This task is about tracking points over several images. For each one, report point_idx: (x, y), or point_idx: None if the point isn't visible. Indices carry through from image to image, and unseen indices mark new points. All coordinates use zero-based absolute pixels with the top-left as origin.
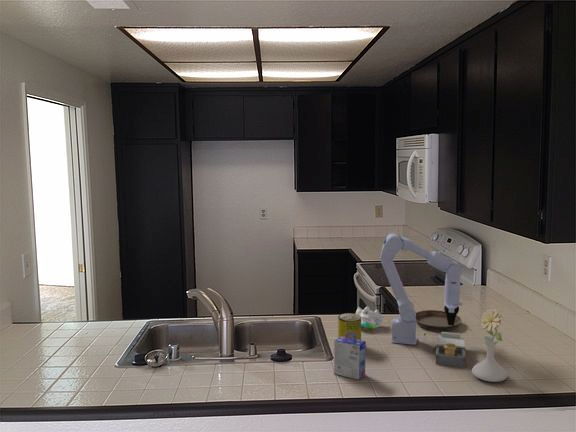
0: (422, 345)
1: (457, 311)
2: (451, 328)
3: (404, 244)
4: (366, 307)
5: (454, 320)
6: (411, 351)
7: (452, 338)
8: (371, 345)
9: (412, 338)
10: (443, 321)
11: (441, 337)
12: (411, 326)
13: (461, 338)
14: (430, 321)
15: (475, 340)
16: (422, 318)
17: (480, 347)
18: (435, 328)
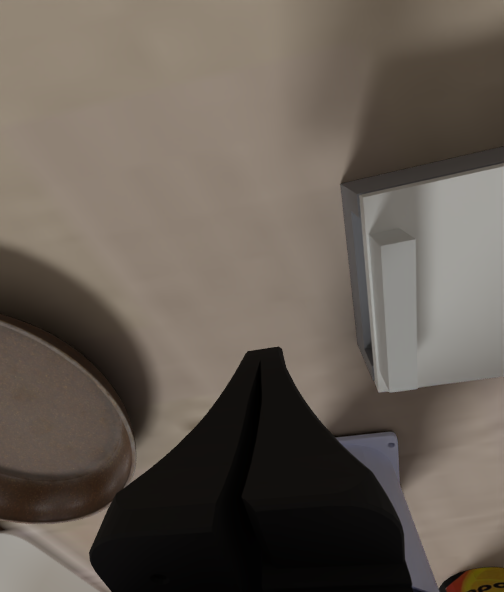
0: (380, 404)
1: (387, 497)
2: (47, 332)
3: None
4: None
5: (290, 380)
6: (488, 428)
7: (419, 288)
8: (454, 548)
9: (385, 471)
10: None
11: (423, 362)
12: (421, 559)
13: (393, 218)
14: (14, 437)
15: (120, 137)
16: (8, 471)
17: (253, 57)
18: (123, 405)
